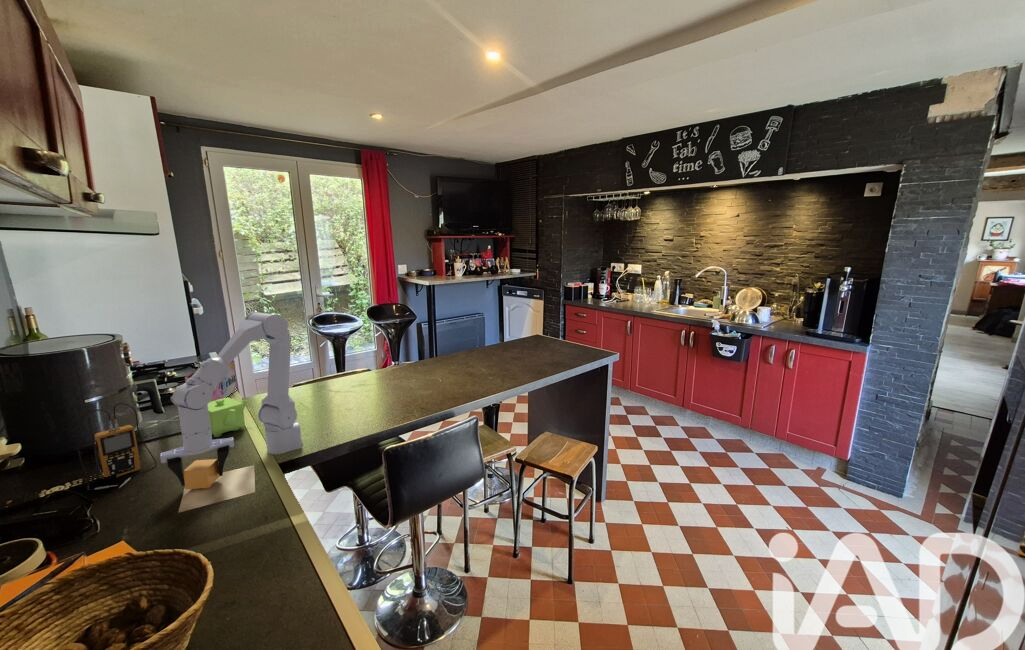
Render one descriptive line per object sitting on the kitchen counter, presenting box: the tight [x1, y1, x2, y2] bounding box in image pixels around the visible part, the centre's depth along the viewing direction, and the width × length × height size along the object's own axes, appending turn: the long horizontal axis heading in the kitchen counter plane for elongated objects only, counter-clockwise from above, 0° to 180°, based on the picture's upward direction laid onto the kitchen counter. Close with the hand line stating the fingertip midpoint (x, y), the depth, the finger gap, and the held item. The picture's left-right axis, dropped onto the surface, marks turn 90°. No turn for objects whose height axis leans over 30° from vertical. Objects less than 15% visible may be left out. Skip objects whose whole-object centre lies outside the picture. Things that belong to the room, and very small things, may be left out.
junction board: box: [177, 464, 256, 514], centre depth 101 cm, size 15×15×6 cm
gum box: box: [184, 360, 238, 402], centre depth 160 cm, size 24×8×14 cm, turn 12°
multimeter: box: [76, 402, 158, 491], centre depth 105 cm, size 15×10×20 cm
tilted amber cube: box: [183, 458, 220, 489], centre depth 101 cm, size 5×5×5 cm
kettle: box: [208, 396, 248, 438], centre depth 134 cm, size 15×14×11 cm
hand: (202, 479), depth 101 cm, fingers closed on tilted amber cube, 7 cm apart
